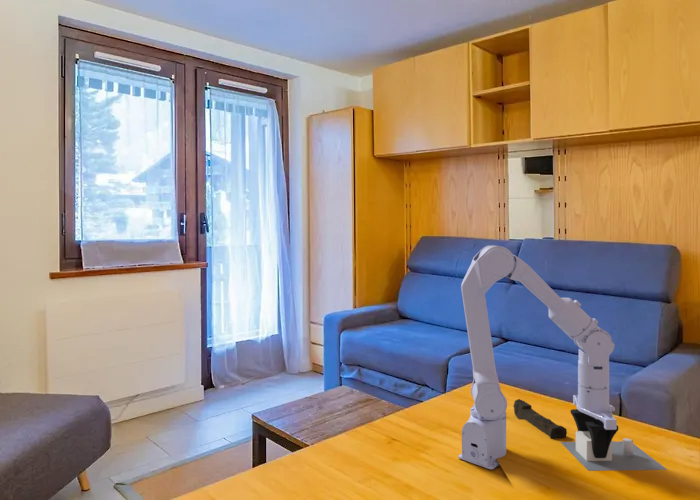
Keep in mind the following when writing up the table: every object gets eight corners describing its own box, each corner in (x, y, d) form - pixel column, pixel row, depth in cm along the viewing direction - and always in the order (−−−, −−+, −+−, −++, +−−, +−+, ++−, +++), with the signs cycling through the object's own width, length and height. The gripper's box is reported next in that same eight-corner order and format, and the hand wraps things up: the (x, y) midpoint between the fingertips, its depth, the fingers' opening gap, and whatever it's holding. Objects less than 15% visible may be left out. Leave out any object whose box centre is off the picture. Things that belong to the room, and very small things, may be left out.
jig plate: (588, 476, 97) (588, 454, 97) (560, 447, 110) (560, 428, 110) (667, 475, 97) (667, 453, 96) (630, 446, 110) (630, 427, 109)
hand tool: (567, 444, 112) (568, 423, 112) (551, 445, 111) (551, 424, 111) (524, 414, 131) (524, 396, 131) (510, 415, 130) (510, 397, 130)
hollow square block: (586, 460, 101) (586, 441, 101) (575, 450, 106) (575, 431, 106) (611, 460, 101) (611, 440, 100) (599, 449, 106) (599, 430, 105)
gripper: (633, 396, 95) (632, 467, 96) (596, 374, 110) (596, 436, 110) (595, 396, 95) (595, 468, 96) (563, 375, 110) (563, 437, 110)
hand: (593, 451), depth 103 cm, fingers closed on hollow square block, 5 cm apart
